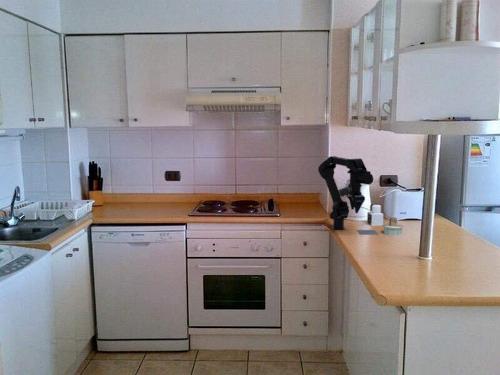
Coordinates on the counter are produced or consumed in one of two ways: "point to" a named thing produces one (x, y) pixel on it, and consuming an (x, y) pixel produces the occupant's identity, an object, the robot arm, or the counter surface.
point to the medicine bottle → (375, 215)
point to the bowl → (392, 231)
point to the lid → (393, 224)
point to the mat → (367, 232)
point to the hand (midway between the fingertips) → (354, 211)
